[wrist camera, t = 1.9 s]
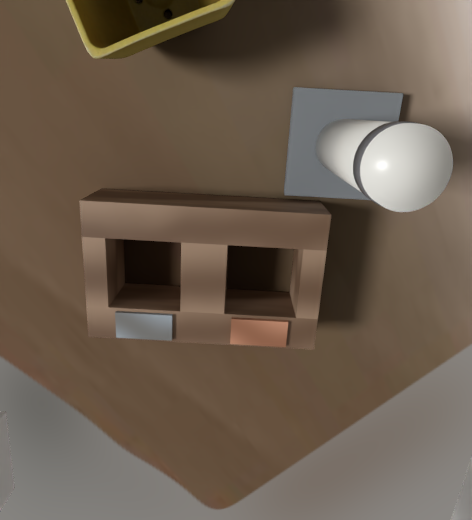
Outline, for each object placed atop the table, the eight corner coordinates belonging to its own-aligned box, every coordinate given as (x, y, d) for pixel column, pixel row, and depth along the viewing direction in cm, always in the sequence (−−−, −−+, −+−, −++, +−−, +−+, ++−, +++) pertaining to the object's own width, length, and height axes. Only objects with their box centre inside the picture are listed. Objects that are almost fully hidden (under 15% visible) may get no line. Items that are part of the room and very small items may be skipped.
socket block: (101, 188, 35) (77, 201, 30) (319, 200, 35) (332, 215, 30) (107, 311, 39) (87, 341, 34) (305, 323, 39) (314, 354, 34)
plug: (318, 116, 32) (370, 119, 19) (372, 119, 32) (463, 124, 19) (312, 171, 34) (357, 210, 20) (364, 174, 34) (443, 215, 20)
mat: (293, 87, 32) (294, 87, 32) (398, 94, 32) (403, 93, 32) (283, 192, 35) (285, 195, 34) (381, 198, 35) (385, 200, 34)
